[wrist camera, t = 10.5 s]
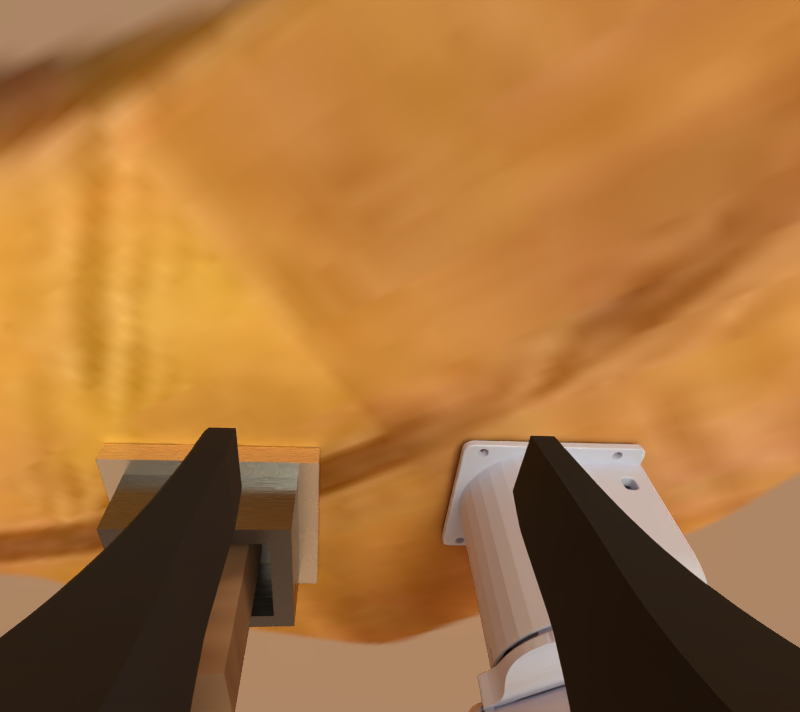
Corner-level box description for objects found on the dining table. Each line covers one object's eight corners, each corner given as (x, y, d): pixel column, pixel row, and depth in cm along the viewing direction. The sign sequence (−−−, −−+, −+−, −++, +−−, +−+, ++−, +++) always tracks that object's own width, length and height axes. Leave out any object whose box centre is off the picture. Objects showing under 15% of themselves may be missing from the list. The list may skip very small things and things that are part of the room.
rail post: (257, 500, 26) (223, 673, 19) (262, 549, 28) (233, 719, 21) (173, 500, 25) (110, 677, 19) (185, 550, 28) (132, 723, 21)
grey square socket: (320, 448, 25) (314, 515, 22) (317, 567, 31) (313, 635, 28) (104, 443, 24) (64, 513, 21) (142, 568, 30) (116, 639, 27)
